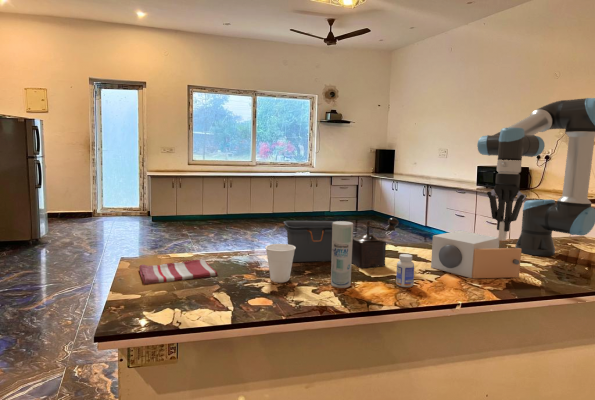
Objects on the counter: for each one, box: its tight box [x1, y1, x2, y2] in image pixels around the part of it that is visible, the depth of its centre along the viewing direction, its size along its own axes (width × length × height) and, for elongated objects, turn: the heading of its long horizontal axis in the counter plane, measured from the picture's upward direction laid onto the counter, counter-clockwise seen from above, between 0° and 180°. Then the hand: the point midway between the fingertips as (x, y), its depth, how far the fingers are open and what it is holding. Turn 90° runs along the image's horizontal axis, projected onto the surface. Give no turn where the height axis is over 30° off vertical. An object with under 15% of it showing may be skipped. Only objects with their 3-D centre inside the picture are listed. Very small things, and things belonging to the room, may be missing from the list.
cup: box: [264, 243, 296, 284], centre depth 138 cm, size 10×10×11 cm
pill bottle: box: [395, 253, 415, 288], centre depth 136 cm, size 5×5×10 cm
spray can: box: [330, 220, 354, 289], centre depth 134 cm, size 6×6×20 cm
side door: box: [471, 247, 522, 279], centre depth 145 cm, size 17×2×10 cm, turn 99°
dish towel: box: [139, 259, 219, 285], centre depth 144 cm, size 17×23×3 cm
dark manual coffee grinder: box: [351, 217, 400, 269], centre depth 160 cm, size 16×11×18 cm
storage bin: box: [283, 220, 334, 263], centre depth 164 cm, size 21×16×14 cm
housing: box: [430, 230, 500, 279], centre depth 156 cm, size 20×16×12 cm
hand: (502, 240), depth 149 cm, fingers closed
